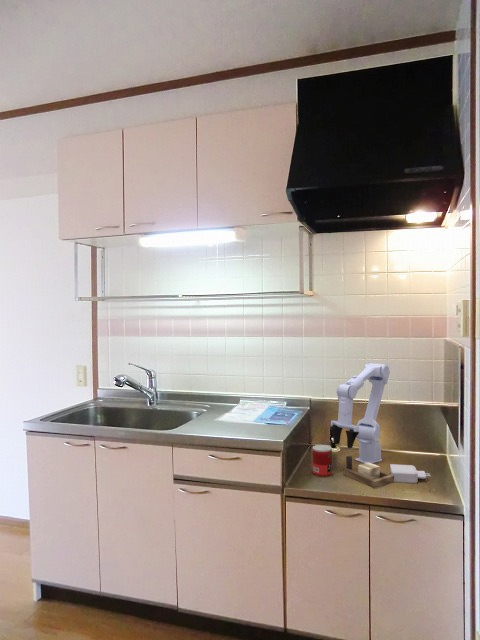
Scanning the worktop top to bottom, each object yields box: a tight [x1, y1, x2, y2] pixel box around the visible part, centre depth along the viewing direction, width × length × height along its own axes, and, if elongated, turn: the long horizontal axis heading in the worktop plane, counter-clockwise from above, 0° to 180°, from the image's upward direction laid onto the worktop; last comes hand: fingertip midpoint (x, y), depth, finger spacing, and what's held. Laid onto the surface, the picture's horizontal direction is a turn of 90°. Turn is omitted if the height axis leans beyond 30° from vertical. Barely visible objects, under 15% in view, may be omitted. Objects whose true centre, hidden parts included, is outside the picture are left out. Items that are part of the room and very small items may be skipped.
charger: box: [389, 463, 432, 484], centre depth 187 cm, size 5×9×15 cm
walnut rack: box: [343, 463, 395, 489], centre depth 189 cm, size 11×17×2 cm, turn 31°
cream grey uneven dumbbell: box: [345, 455, 381, 480], centre depth 193 cm, size 6×15×6 cm, turn 31°
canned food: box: [311, 444, 333, 478], centre depth 195 cm, size 8×8×11 cm
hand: (343, 445), depth 196 cm, fingers open, 7 cm apart
